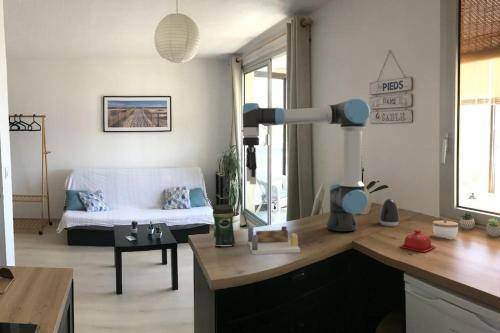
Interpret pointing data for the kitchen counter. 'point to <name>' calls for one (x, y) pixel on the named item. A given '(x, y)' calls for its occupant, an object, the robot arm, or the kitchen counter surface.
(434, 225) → the lidded jar
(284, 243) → the white board with blocks
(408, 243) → the butter dish
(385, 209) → the dark grey dome
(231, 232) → the coffee jar
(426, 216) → the kitchen counter surface
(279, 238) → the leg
